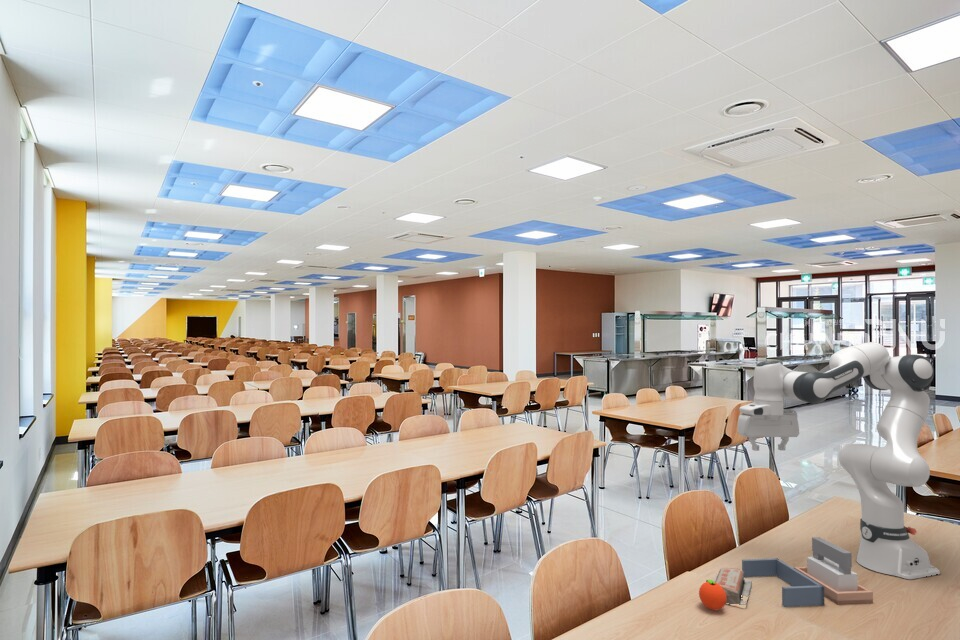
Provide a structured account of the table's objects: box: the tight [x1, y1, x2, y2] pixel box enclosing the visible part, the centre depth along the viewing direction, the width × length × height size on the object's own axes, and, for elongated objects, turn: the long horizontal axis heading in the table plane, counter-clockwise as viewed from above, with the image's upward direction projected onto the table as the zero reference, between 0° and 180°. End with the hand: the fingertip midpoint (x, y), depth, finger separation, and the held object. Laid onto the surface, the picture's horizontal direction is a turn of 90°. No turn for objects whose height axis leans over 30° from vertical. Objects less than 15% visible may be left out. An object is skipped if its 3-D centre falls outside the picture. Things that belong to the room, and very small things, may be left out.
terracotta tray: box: [793, 566, 874, 606], centre depth 153 cm, size 11×17×3 cm, turn 6°
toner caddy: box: [806, 536, 859, 592], centre depth 153 cm, size 6×12×12 cm, turn 7°
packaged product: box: [713, 567, 753, 605], centre depth 150 cm, size 18×5×10 cm
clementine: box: [698, 579, 727, 611], centre depth 141 cm, size 8×7×7 cm
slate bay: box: [741, 558, 825, 608], centre depth 152 cm, size 12×19×5 cm, turn 6°
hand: (768, 450), depth 172 cm, fingers open, 8 cm apart
